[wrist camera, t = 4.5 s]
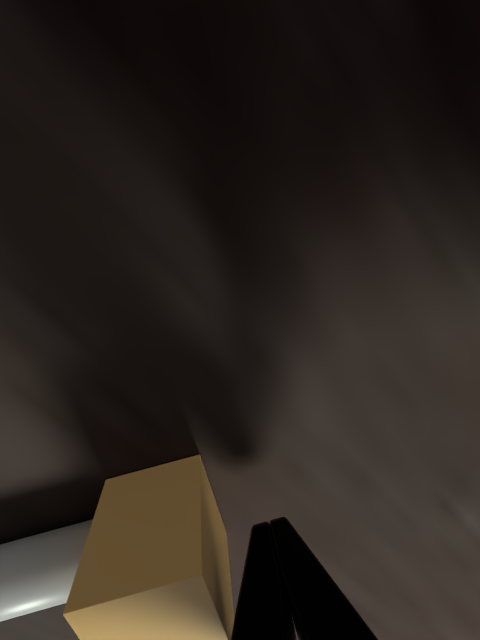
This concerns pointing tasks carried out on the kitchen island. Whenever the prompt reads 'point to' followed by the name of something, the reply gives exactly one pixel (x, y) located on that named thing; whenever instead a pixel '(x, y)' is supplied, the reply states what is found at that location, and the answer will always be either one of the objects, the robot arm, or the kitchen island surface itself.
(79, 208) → the kitchen island surface
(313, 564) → the robot arm
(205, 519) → the dumbbell shaped bar
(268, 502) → the kitchen island surface
